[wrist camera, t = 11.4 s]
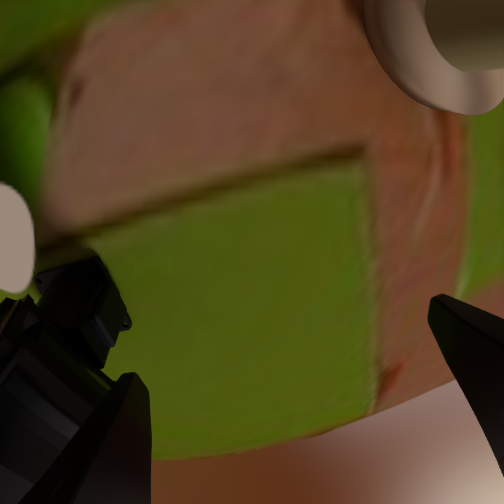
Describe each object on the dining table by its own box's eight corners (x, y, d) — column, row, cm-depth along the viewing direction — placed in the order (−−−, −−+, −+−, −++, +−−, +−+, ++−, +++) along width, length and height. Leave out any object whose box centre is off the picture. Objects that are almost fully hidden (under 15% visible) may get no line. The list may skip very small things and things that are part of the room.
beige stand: (381, 115, 18) (406, 119, 15) (343, -45, 12) (361, -62, 10) (495, 109, 18) (520, 115, 15) (469, -22, 12) (492, -27, 10)
